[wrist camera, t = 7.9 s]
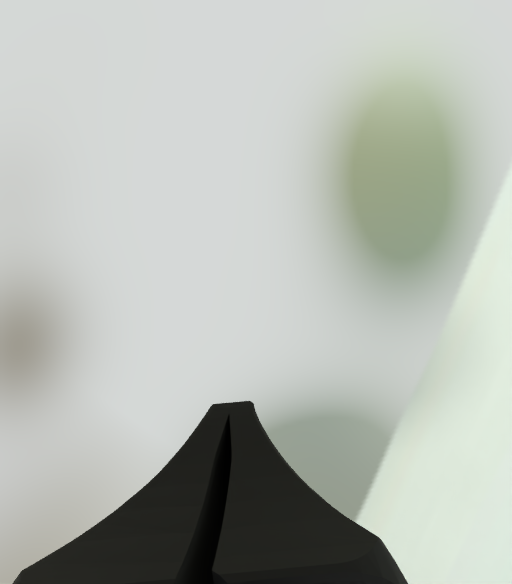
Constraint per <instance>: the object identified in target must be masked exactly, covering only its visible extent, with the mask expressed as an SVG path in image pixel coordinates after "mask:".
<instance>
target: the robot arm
mask: <svg viewBox="0 0 512 584" xmlns="http://www.w3.org/2000/svg"><path fill="white" fill-rule="evenodd" d="M13 584H408V583H407V581H406V579H405V578H404V576H403V574H402V572H401V571H400V569H399V567H398V565H397V564H396V562H395V560H394V559H393V557H392V556H391V554H390V553H389V551H388V549H387V548H386V546H385V545H384V543H383V542H382V540H381V539H380V538H379V537H377V536H376V535H374V534H373V533H371V532H369V531H368V530H366V529H365V528H363V527H361V526H360V525H358V524H357V523H355V522H353V521H352V520H350V519H349V518H347V517H345V516H344V515H343V514H341V513H340V512H339V511H337V510H336V509H335V508H333V507H332V506H331V505H330V504H328V503H327V502H326V501H325V500H324V499H322V497H320V496H319V495H318V494H317V493H316V492H315V491H314V490H312V489H311V488H310V487H309V486H308V485H307V484H306V483H305V482H304V481H303V480H302V479H301V478H300V477H299V476H298V475H297V474H296V473H295V471H294V470H293V469H292V468H291V467H290V466H289V465H288V463H286V461H285V460H284V458H283V457H282V456H281V455H280V453H279V452H278V450H277V449H276V448H275V446H274V445H273V443H272V442H271V440H270V439H269V437H268V435H267V434H266V432H265V430H264V429H263V427H262V425H261V423H260V421H259V419H258V417H257V414H256V412H255V408H254V404H253V403H252V402H251V401H244V402H233V403H222V404H213V405H212V406H211V407H210V409H209V410H208V412H207V413H206V415H205V416H204V418H203V419H202V420H201V422H200V423H199V425H198V426H197V428H196V429H195V430H194V432H193V433H192V434H191V436H190V437H189V439H188V440H187V441H186V442H185V444H184V445H183V446H182V447H181V449H180V450H179V451H178V452H177V453H176V454H175V456H174V457H173V458H172V459H171V460H170V461H169V462H168V464H167V465H166V466H165V467H164V468H163V469H162V470H161V471H160V472H159V473H158V474H157V475H156V476H155V477H154V478H153V479H152V480H151V481H150V482H149V483H148V484H147V485H146V486H144V487H143V488H142V489H141V490H140V491H139V492H137V493H136V494H135V495H134V496H133V497H131V498H130V499H129V500H128V501H126V502H125V503H124V504H123V505H122V506H121V507H119V508H118V509H117V510H116V511H114V512H113V513H112V514H110V515H109V516H107V517H106V518H105V519H103V520H102V521H101V522H99V523H98V524H97V525H95V526H94V527H92V528H91V529H89V530H88V531H86V532H85V533H83V534H82V535H80V536H79V537H78V538H76V539H74V540H73V541H71V542H70V543H68V544H66V545H65V546H63V547H61V548H60V549H58V550H56V551H55V552H53V553H51V554H50V555H48V556H46V557H45V558H43V559H41V560H40V561H38V562H36V563H35V564H33V565H31V566H29V567H28V568H26V569H24V570H22V571H21V573H20V574H19V575H18V577H17V578H16V580H15V581H14V583H13Z"/></svg>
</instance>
